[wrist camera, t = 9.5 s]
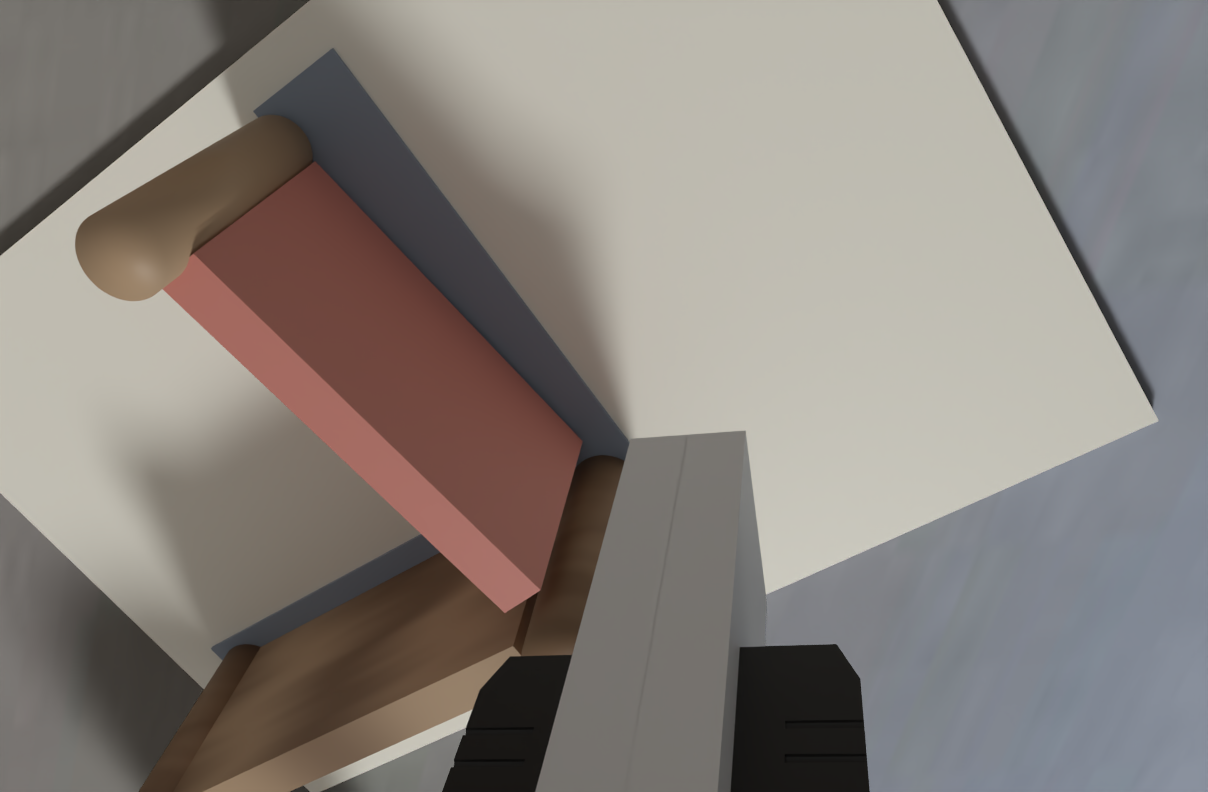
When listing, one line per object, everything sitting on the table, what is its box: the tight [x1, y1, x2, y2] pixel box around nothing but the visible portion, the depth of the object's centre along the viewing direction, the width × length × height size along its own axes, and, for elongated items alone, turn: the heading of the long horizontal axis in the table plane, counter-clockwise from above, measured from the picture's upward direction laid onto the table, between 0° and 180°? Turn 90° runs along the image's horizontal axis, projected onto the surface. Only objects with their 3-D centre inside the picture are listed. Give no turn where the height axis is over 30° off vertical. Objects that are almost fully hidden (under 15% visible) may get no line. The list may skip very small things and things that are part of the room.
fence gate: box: [75, 115, 583, 613], centre depth 22 cm, size 10×2×7 cm, turn 41°
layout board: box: [0, 0, 1159, 792], centre depth 26 cm, size 27×18×1 cm, turn 125°
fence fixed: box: [139, 455, 625, 792], centre depth 26 cm, size 15×2×6 cm, turn 125°
